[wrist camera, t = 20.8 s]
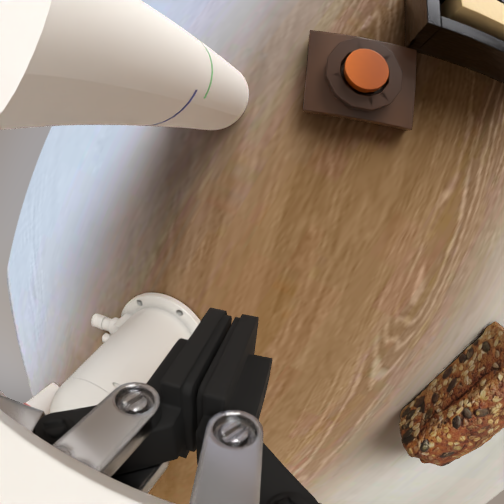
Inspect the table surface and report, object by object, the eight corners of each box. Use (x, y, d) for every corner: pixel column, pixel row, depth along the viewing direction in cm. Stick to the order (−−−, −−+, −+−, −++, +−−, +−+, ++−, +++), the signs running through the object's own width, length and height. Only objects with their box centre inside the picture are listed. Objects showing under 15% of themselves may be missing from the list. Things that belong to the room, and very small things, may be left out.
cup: (44, 377, 53) (11, 409, 42) (58, 380, 51) (23, 415, 40) (55, 396, 54) (25, 429, 43) (70, 400, 53) (38, 435, 42)
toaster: (404, 49, 23) (427, 23, 16) (404, -6, 21) (422, -40, 14) (513, 87, 21) (553, 79, 14) (510, 34, 19) (545, 17, 11)
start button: (342, 89, 23) (343, 85, 21) (344, 50, 22) (346, 44, 20) (383, 96, 23) (387, 93, 21) (386, 58, 21) (390, 53, 20)
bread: (492, 312, 29) (528, 360, 20) (525, 347, 29) (556, 391, 20) (392, 409, 37) (400, 466, 27) (436, 431, 37) (446, 481, 27)
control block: (303, 112, 28) (301, 107, 24) (310, 37, 25) (308, 23, 21) (405, 130, 26) (417, 128, 22) (411, 55, 23) (422, 44, 20)
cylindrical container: (168, 104, 30) (-60, 87, 7) (210, 51, 27) (13, -57, 4) (217, 144, 30) (-13, 172, 7) (263, 90, 28) (93, -35, 5)
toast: (432, 34, 21) (462, 6, 14) (432, 14, 20) (459, -17, 13) (498, 59, 20) (537, 44, 13) (497, 40, 19) (534, 21, 12)
